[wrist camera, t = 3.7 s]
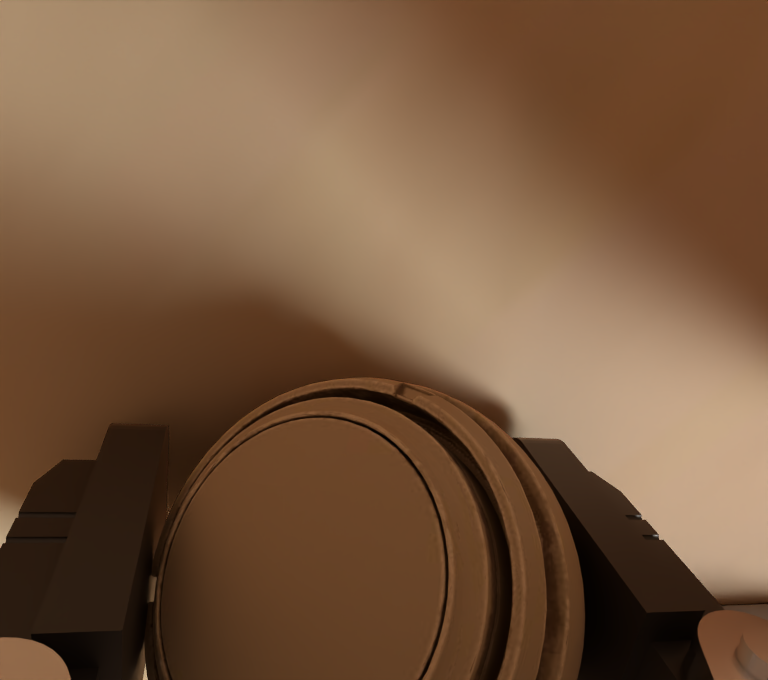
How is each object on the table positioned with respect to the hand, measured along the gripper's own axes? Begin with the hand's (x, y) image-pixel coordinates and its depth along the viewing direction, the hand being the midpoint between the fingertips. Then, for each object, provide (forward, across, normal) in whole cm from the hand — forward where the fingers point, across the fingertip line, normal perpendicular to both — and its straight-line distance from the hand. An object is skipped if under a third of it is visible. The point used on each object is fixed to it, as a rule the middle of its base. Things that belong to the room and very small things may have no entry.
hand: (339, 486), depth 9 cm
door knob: (+1, 0, 0) cm, 1 cm away
